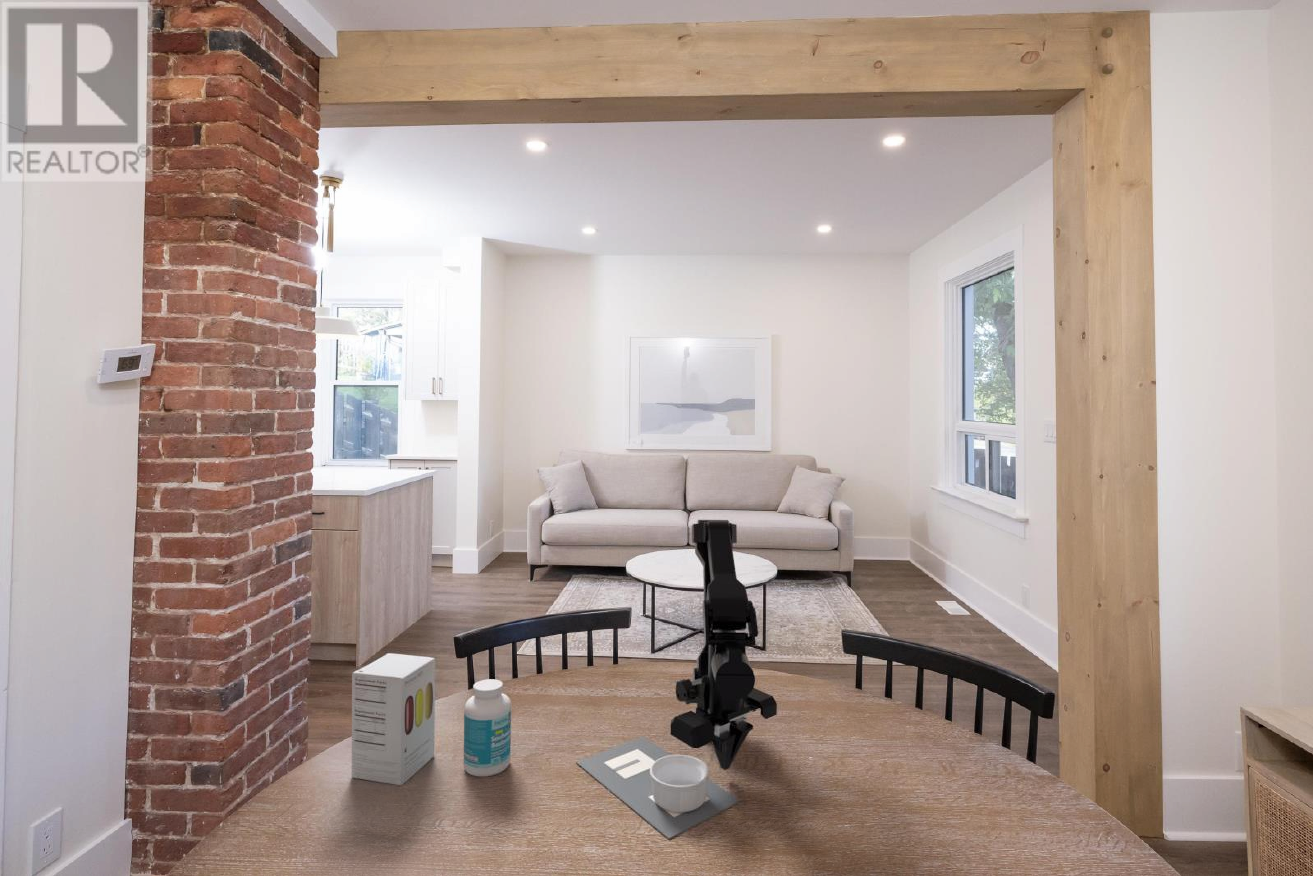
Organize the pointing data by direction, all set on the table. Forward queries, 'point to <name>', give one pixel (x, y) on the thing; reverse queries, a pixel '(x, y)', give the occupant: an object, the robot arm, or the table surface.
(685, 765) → the ramekin
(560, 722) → the table surface
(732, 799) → the slate mat
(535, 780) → the table surface
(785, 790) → the table surface
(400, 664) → the supplement box
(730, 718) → the robot arm
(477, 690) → the pill bottle
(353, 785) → the table surface
